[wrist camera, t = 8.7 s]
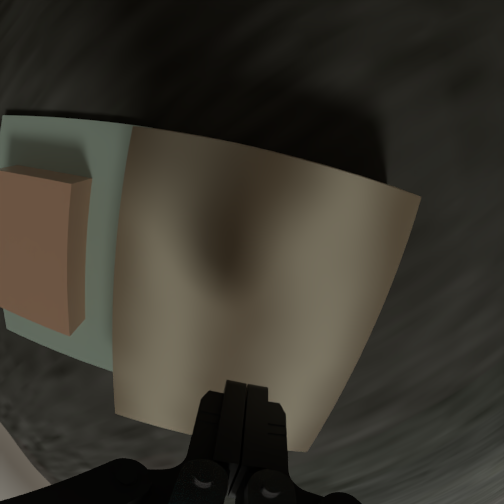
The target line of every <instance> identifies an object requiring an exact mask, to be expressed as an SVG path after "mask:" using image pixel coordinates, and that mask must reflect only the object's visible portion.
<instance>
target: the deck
mask: <svg viewBox="0 0 504 504" xmlns="http://www.w3.org/2000/svg"><path fill="white" fill-rule="evenodd" d="M420 200H421V197H420V196H417V195H415V194H412V193H410V192H407V191H404V190H402V189H399V188H397V187H394V186H391V185H388V184H385V183H382V182H379V181H376V180H373V179H370V178H367V177H364V176H361V175H357V174H354V173H351V172H348V171H344V170H341V169H338V168H334V167H331V166H327V165H324V164H320V163H316V162H313V161H309V160H305V159H302V158H298V157H294V156H290V155H286V154H282V153H278V152H274V151H270V150H266V149H261V148H257V147H253V146H248V145H244V144H239V143H234V142H230V141H225V140H220V139H215V138H210V137H204V136H199V135H194V134H188V133H182V132H176V131H170V130H164V129H156V128H147V127H138V126H133V128H132V133H131V138H130V144H129V149H128V155H127V161H126V167H125V173H124V180H123V187H122V195H121V202H120V211H119V220H118V229H117V240H116V252H115V266H114V284H113V314H112V354H113V383H114V400H115V413H116V414H118V415H122V416H125V417H128V418H131V419H134V420H137V421H141V422H144V423H148V424H151V425H155V426H158V427H162V428H166V429H170V430H173V431H177V432H182V433H186V434H190V435H192V433H193V429H194V425H195V421H196V416H197V412H198V408H199V404H200V400H201V398H202V397H203V396H204V395H205V394H206V393H207V392H208V391H209V390H211V391H216V392H220V393H223V391H224V387H225V383H226V380H232V381H237V382H242V383H246V384H253V385H258V386H264V387H268V401H269V402H276V403H280V404H281V406H282V408H283V410H284V412H285V413H286V428H287V436H286V437H287V450H289V451H300V452H307V451H308V450H309V448H310V446H311V445H312V443H313V441H314V440H315V438H316V437H317V435H318V433H319V432H320V430H321V428H322V426H323V425H324V423H325V421H326V420H327V418H328V416H329V414H330V413H331V411H332V409H333V407H334V405H335V404H336V402H337V400H338V398H339V396H340V394H341V393H342V391H343V389H344V387H345V385H346V383H347V381H348V379H349V377H350V375H351V373H352V371H353V369H354V367H355V365H356V363H357V361H358V359H359V357H360V355H361V353H362V351H363V349H364V347H365V345H366V343H367V340H368V338H369V336H370V334H371V332H372V329H373V327H374V325H375V323H376V320H377V318H378V316H379V314H380V311H381V309H382V306H383V304H384V302H385V299H386V297H387V294H388V292H389V289H390V287H391V284H392V282H393V279H394V277H395V274H396V271H397V269H398V266H399V263H400V261H401V258H402V255H403V252H404V249H405V247H406V244H407V241H408V238H409V235H410V232H411V229H412V226H413V223H414V220H415V216H416V213H417V210H418V207H419V203H420ZM246 387H247V386H246Z"/></svg>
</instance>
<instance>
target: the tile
mask: <svg viewBox="0 0 504 504" xmlns="http://www.w3.org/2000/svg"><path fill="white" fill-rule="evenodd" d="M91 185H92V178H88V177H83V176H78V175H72V174H67V173H61V172H55V171H50V170H44V169H38V168H32V167H26V166H20V165H14V166H9V167H4V168H0V307H1V308H4V309H6V310H8V311H10V312H12V313H14V314H17V315H19V316H21V317H23V318H26V319H28V320H30V321H32V322H35V323H37V324H40V325H42V326H44V327H47V328H49V329H52V330H54V331H57V332H59V333H62V334H64V335H67V336H71V335H72V333H73V332H74V331H75V330H76V329H77V328H78V327H79V325H80V324H81V323H82V322H83V321H84V320H85V263H86V241H87V226H88V214H89V203H90V194H91Z"/></svg>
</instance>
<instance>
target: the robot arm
mask: <svg viewBox="0 0 504 504" xmlns="http://www.w3.org/2000/svg"><path fill="white" fill-rule="evenodd" d="M246 386H247V387H246ZM286 436H287V428H286V413H285V412H284V410H283V408H282V406H281V404H280V403H276V402H269V401H268V387H264V386H258V385H253V384H246V383H242V382H237V381H232V380H226V383H225V387H224V391H223V393H220V392H216V391H211V390H209V391H208V392H207V393H206V394H205V395H204V396H203V397H202V398H201V400H200V404H199V408H198V412H197V416H196V421H195V425H194V429H193V433H192V437H191V441H190V445H189V449H188V453H187V456H186V458H185V460H184V461H183V462H182V463H181V464H180V465H178V466H176V467H174V468H171V469H163V470H149V469H147V468H146V467H145V466H144V465H142V464H141V463H139V462H137V461H135V460H132V459H127V458H120V459H115V460H113V461H110V462H108V463H106V464H103V465H101V466H99V467H96V468H94V469H92V470H89V471H87V472H84V473H82V474H79V475H77V476H74V477H72V478H69V479H66V480H64V481H61V482H58V483H55V484H53V485H50V486H47V487H44V488H41V489H38V490H35V491H32V492H29V493H26V494H23V495H20V496H17V497H13V498H10V499H6V500H3V501H0V504H224V500H225V497H226V496H227V493H228V491H229V493H228V497H230V498H236V499H235V504H361V503H360V502H359V501H358V500H357V499H356V498H354V497H353V496H351V495H349V494H347V493H343V492H335V493H331V494H328V495H327V496H325V497H323V496H319V495H316V494H313V493H310V492H307V491H304V490H302V489H301V488H299V487H298V486H297V485H296V484H295V483H294V482H293V481H292V480H291V478H290V476H289V472H288V450H287V437H286Z"/></svg>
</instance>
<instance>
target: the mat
mask: <svg viewBox="0 0 504 504" xmlns="http://www.w3.org/2000/svg"><path fill="white" fill-rule="evenodd" d="M133 126H137V125H129V124H121V123H113V122H104V121H94V120H83V119H72V118H58V117H41V116H15V115H3V117H2V124H1V131H0V168H4V167H9V166H14V165H20V166H26V167H32V168H38V169H44V170H50V171H55V172H61V173H67V174H72V175H78V176H83V177H88V178H92V185H91V194H90V203H89V214H88V226H87V241H86V263H85V320H84V321H83V322H82V323H81V324H80V325H79V327H78V328H77V329H76V330H75V331H74V332H73V333H72V335H71V336H67V335H64V334H62V333H59V332H57V331H54V330H52V329H49V328H47V327H44V326H42V325H40V324H37V323H35V322H32V321H30V320H28V319H26V318H23V317H21V316H19V315H17V314H14V313H12V312H10V311H8V310H6V309H4V308H3V310H4V316H5V322H6V327H7V329H8V330H10V331H12V332H15V333H17V334H19V335H21V336H23V337H25V338H28V339H30V340H32V341H34V342H37V343H39V344H41V345H43V346H46V347H48V348H51V349H53V350H55V351H58V352H60V353H63V354H65V355H68V356H71V357H73V358H76V359H79V360H81V361H84V362H87V363H89V364H92V365H95V366H98V367H101V368H104V369H107V370H110V371H113V354H112V314H113V284H114V266H115V252H116V240H117V229H118V220H119V211H120V202H121V195H122V187H123V180H124V173H125V167H126V161H127V155H128V149H129V144H130V138H131V133H132V128H133ZM138 127H144V126H138ZM147 128H151V127H147Z"/></svg>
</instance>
